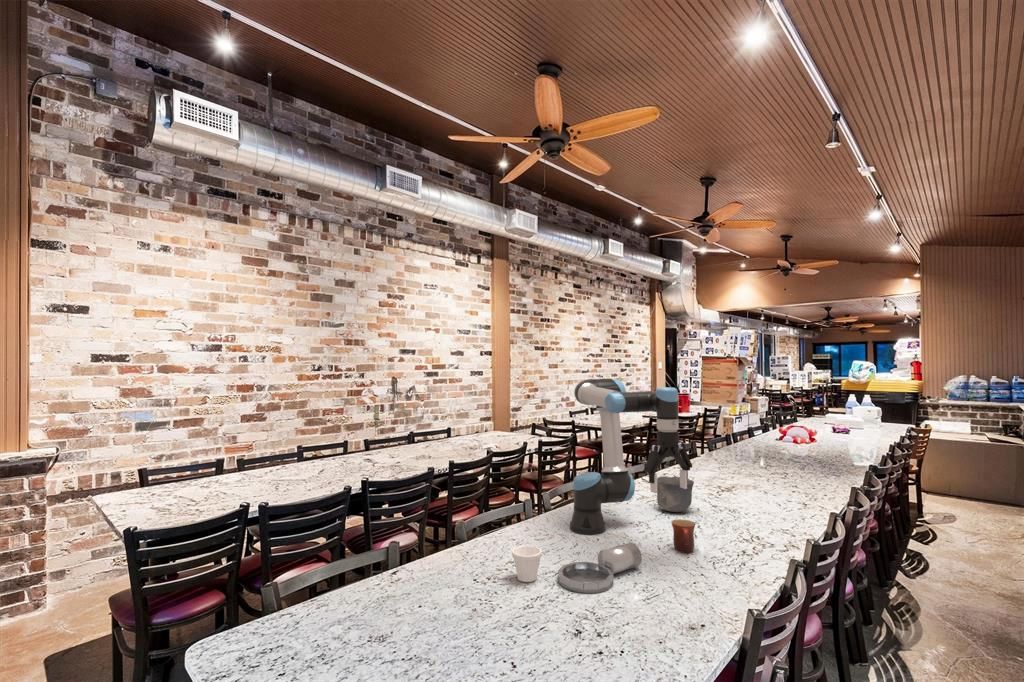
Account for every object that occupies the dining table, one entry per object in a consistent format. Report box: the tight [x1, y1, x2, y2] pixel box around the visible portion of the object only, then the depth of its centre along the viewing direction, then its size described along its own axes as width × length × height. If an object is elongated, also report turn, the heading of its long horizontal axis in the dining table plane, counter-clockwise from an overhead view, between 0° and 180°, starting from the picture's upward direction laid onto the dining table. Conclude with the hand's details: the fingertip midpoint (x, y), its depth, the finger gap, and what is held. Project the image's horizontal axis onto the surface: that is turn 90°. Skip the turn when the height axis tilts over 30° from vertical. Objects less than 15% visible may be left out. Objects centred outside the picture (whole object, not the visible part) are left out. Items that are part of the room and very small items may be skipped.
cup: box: [511, 545, 543, 584], centre depth 166 cm, size 10×10×9 cm
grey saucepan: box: [557, 542, 643, 595], centre depth 167 cm, size 31×18×8 cm, turn 123°
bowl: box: [656, 475, 695, 513], centre depth 240 cm, size 18×18×15 cm
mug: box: [671, 518, 696, 554], centre depth 189 cm, size 12×9×10 cm
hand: (668, 490), depth 179 cm, fingers open, 13 cm apart
